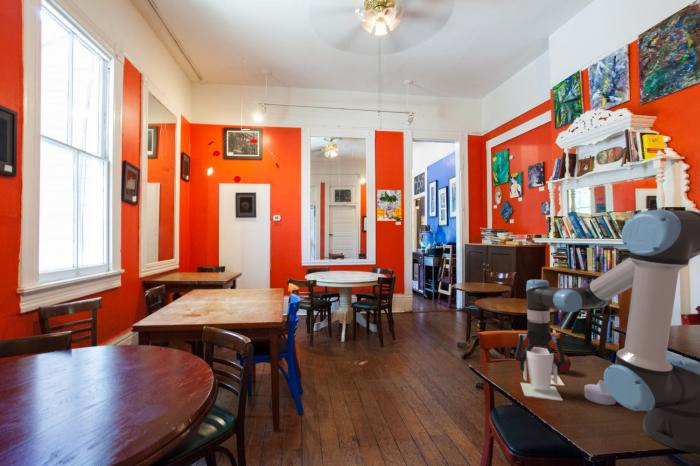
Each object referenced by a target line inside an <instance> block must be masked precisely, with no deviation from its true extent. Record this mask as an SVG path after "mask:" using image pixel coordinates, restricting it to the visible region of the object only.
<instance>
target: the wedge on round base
mask: <svg viewBox="0 0 700 466" xmlns="http://www.w3.org/2000/svg"><path fill="white" fill-rule="evenodd" d="M584 397H585V399H586V400H588V401H590V402H593V403H595V404H600V405H606V406H607V405H608V406H611V405H612V406H613V405H616V403H617V401H616V400H615V399H614V398H613V397H612V395H611V393H610V392H609V391H608V390H607V388H606V385H605V382H604V379H603V380H602V379H600V380H598V383H597V384H593V383H592V384H591V383H589V384H585V385H584Z"/></svg>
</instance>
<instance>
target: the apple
mask: <svg viewBox="0 0 700 466" xmlns="http://www.w3.org/2000/svg"><path fill="white" fill-rule="evenodd" d="M554 354H555V356H556V358H557V359H558V361H560V358H559V354H558V352H556V353H555V352H554ZM563 355H564V358H565V362H566V365H561V366H560V374H561V373H562V374H563V373H566V372H568V371H569V370H570V369H571V367H572V362H571V359H570V358H569V357H568V356H567V355H565V354H564V353H563ZM553 364H556V363H555V361H554V360H553ZM552 369H553V367H552Z"/></svg>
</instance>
